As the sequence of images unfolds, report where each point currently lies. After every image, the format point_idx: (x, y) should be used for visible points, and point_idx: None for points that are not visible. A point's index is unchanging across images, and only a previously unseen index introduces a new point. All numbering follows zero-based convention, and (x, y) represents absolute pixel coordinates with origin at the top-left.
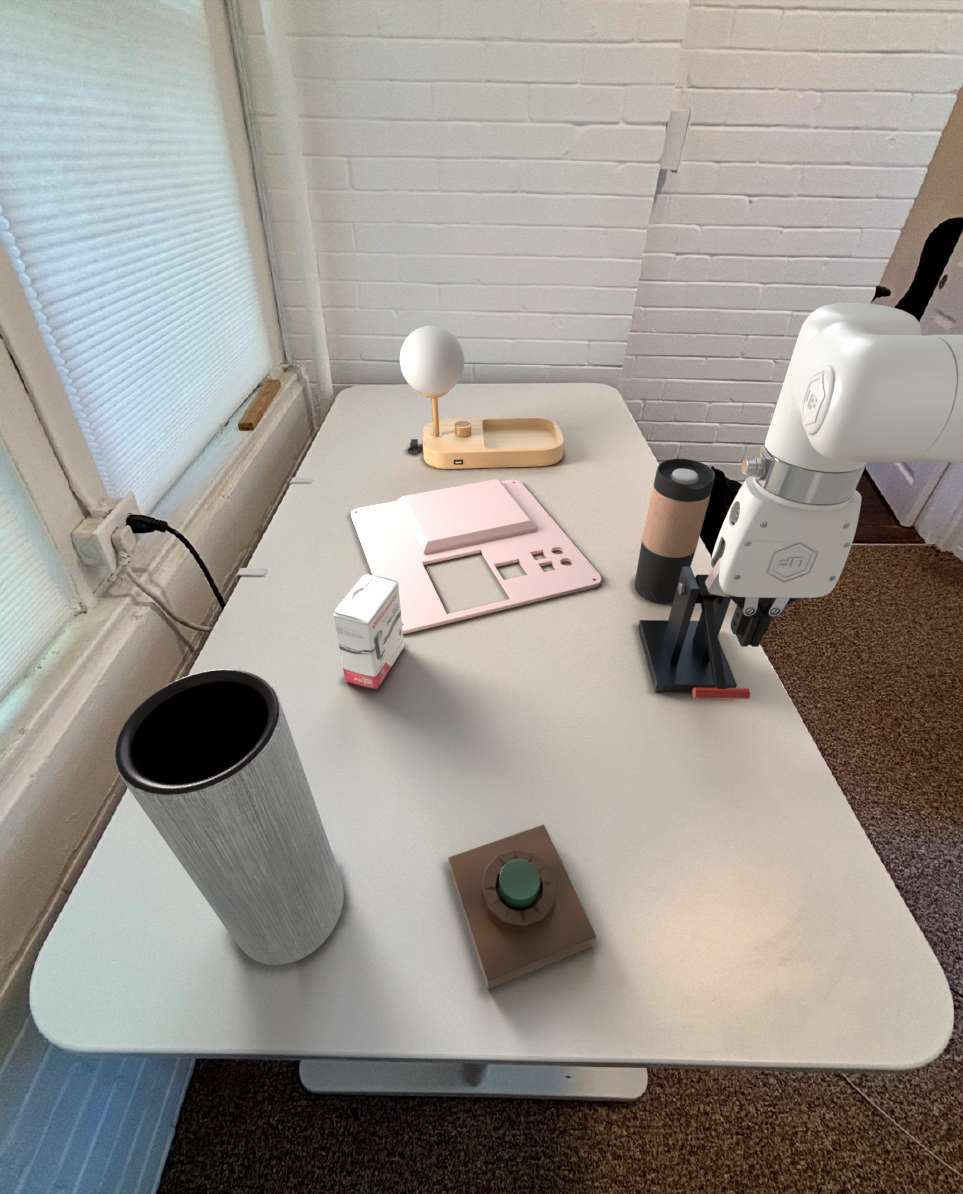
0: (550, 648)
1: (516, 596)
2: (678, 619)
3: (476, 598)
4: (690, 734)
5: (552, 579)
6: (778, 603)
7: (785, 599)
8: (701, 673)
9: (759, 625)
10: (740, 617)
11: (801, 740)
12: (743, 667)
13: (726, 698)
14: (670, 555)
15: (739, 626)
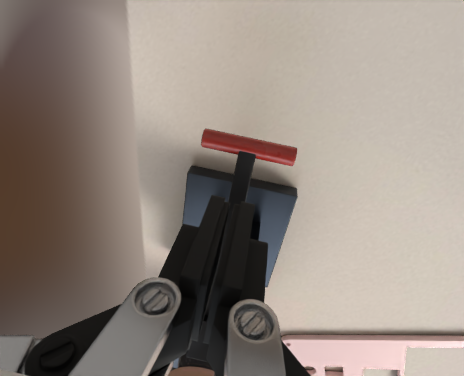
0: (397, 275)
1: (399, 348)
2: None
3: (446, 355)
4: (283, 113)
5: (339, 356)
6: (138, 336)
7: (103, 353)
8: (227, 199)
9: (213, 254)
10: (263, 294)
11: (132, 74)
12: (163, 198)
13: (242, 136)
14: (211, 374)
15: (263, 263)
